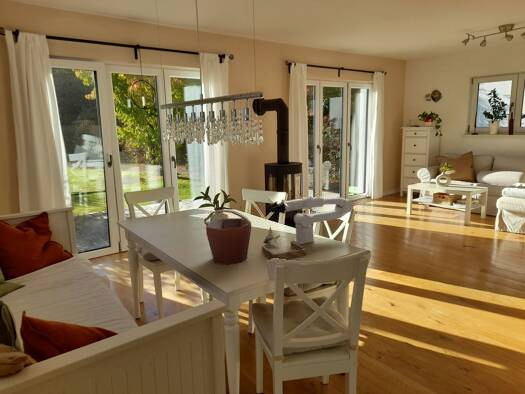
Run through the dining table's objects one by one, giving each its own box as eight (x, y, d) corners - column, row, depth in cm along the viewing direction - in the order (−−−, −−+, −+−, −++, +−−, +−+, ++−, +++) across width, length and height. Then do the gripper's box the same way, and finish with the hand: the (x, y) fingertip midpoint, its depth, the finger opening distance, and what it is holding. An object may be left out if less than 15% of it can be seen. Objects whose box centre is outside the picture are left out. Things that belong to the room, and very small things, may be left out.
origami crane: (257, 234, 210) (266, 224, 204) (274, 238, 214) (282, 229, 208) (258, 250, 203) (267, 241, 197) (275, 254, 207) (284, 245, 201)
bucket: (197, 261, 188) (193, 213, 183) (225, 248, 206) (222, 204, 201) (236, 270, 174) (233, 218, 169) (262, 255, 192) (260, 208, 187)
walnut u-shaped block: (292, 246, 204) (292, 241, 204) (305, 254, 191) (305, 249, 190) (262, 251, 198) (261, 246, 197) (273, 260, 184) (273, 255, 183)
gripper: (285, 197, 212) (263, 200, 208) (296, 199, 199) (272, 203, 194) (287, 209, 213) (264, 213, 209) (297, 212, 200) (273, 216, 195)
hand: (268, 209), depth 202 cm, fingers open, 7 cm apart
